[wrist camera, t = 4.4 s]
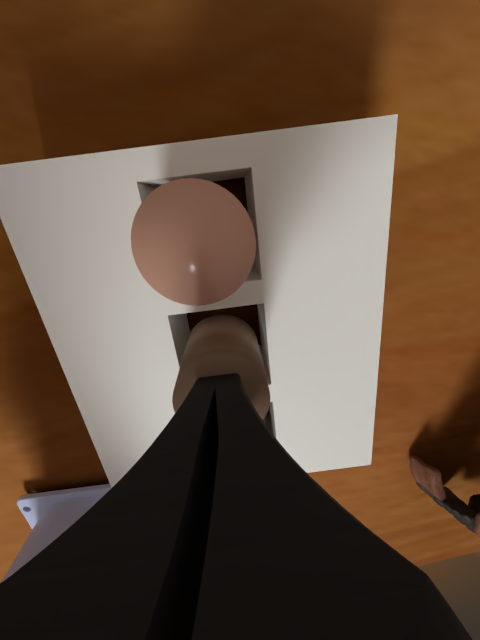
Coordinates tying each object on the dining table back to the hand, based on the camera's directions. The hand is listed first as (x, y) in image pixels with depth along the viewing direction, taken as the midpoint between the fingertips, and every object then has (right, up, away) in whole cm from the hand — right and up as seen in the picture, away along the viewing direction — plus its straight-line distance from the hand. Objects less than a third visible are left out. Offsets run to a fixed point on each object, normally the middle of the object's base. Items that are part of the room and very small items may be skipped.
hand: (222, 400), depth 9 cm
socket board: (0, +3, +7) cm, 7 cm away
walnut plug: (0, +1, +3) cm, 4 cm away
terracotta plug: (-1, +6, +1) cm, 6 cm away
